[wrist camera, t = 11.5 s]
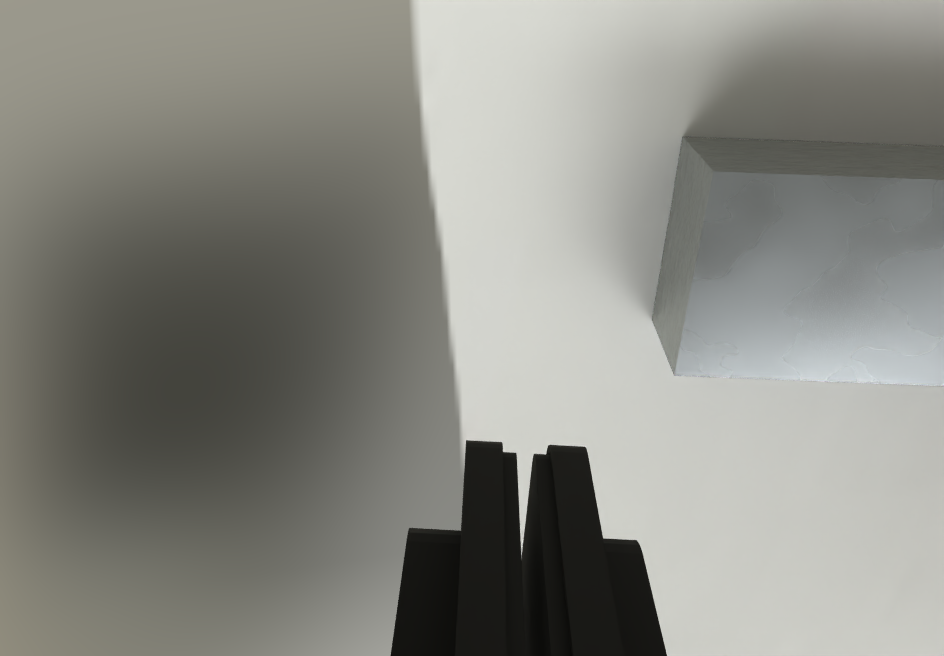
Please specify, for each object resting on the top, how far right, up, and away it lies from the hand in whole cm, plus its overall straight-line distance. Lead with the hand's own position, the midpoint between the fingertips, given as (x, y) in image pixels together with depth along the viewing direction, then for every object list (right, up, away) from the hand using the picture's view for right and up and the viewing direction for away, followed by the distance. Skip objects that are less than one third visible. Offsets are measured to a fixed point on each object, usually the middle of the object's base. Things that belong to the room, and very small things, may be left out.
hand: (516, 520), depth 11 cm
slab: (+13, +6, +12) cm, 19 cm away
